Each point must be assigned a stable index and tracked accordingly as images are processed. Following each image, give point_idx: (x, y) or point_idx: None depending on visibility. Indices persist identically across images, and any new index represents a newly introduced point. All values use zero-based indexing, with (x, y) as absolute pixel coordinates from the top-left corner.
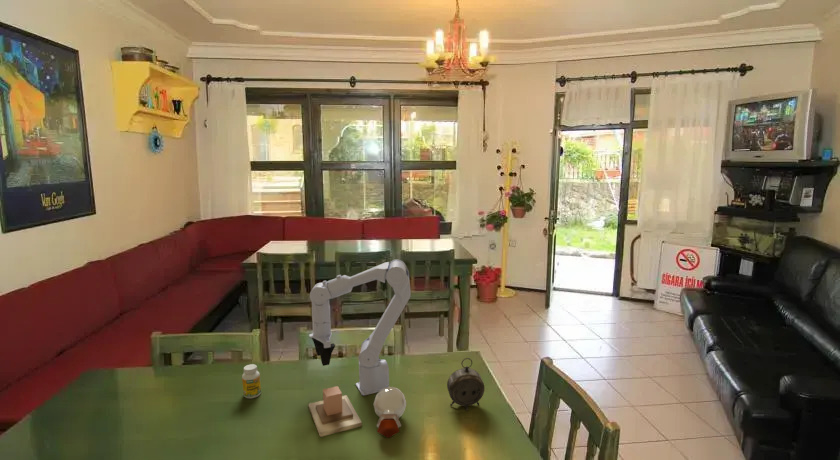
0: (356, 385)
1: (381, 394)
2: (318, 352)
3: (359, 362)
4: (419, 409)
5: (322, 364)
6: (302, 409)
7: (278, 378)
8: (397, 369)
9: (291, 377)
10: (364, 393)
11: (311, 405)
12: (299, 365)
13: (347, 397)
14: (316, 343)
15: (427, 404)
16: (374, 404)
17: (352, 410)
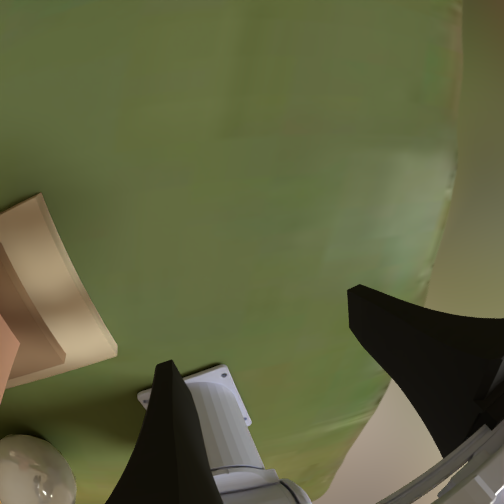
0: (209, 370)
1: (7, 497)
2: (364, 310)
3: (217, 476)
4: (87, 482)
5: (156, 370)
6: (26, 165)
7: (351, 19)
8: (296, 436)
9: (350, 75)
10: (147, 398)
11: (21, 216)
12: (430, 118)
13: (97, 360)
14: (425, 351)
15: (111, 491)
16: (3, 457)
17: (17, 377)
